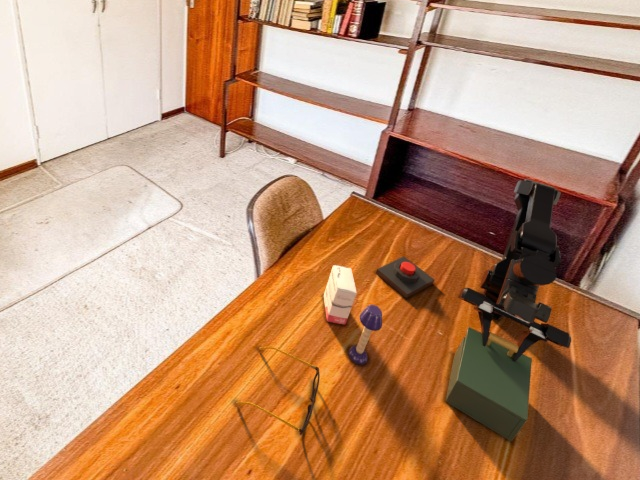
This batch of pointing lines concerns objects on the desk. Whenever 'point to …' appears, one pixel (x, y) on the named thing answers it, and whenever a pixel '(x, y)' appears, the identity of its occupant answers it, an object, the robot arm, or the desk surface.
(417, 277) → the button base
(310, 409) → the eyeglasses
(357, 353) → the toy lamp
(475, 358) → the chest lid
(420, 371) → the desk surface
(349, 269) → the ink box
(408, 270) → the button
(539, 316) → the robot arm
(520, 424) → the chest
